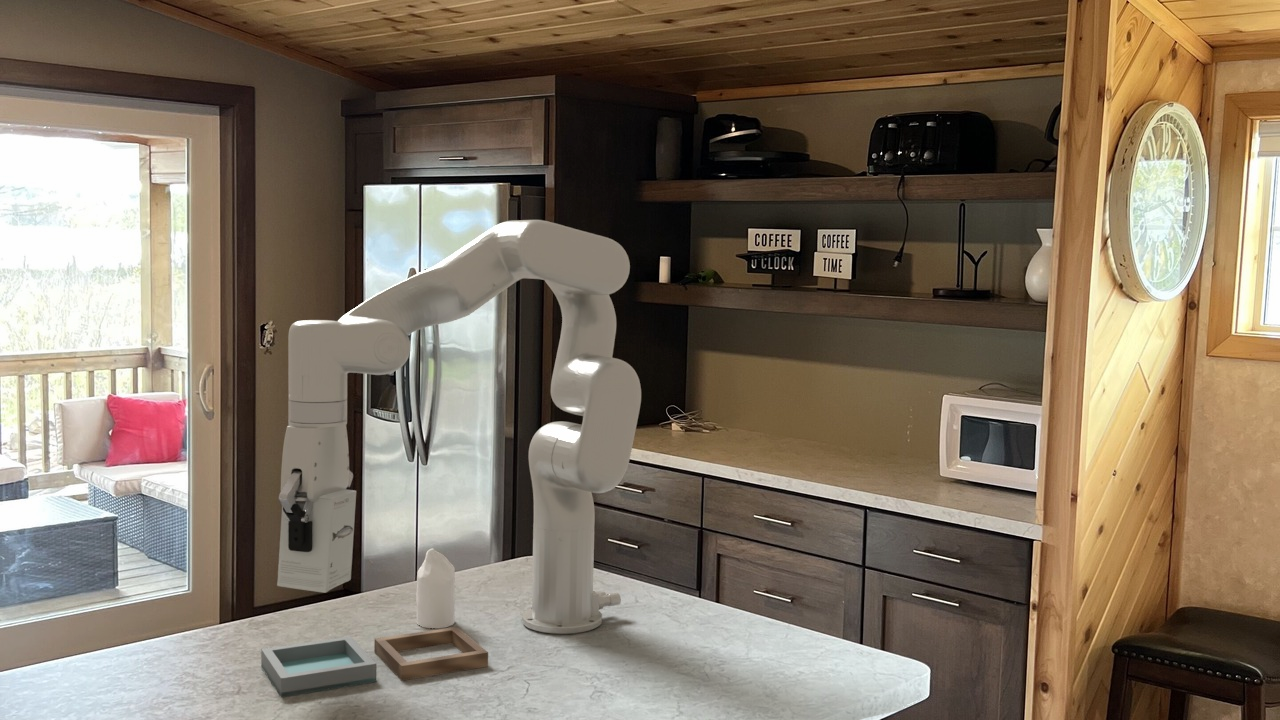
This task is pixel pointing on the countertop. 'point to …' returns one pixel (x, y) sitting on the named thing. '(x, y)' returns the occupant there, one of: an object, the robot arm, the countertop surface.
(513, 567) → the countertop surface
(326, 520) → the supplement box
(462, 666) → the wooden picture frame
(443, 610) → the white rounded piece
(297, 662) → the dock
